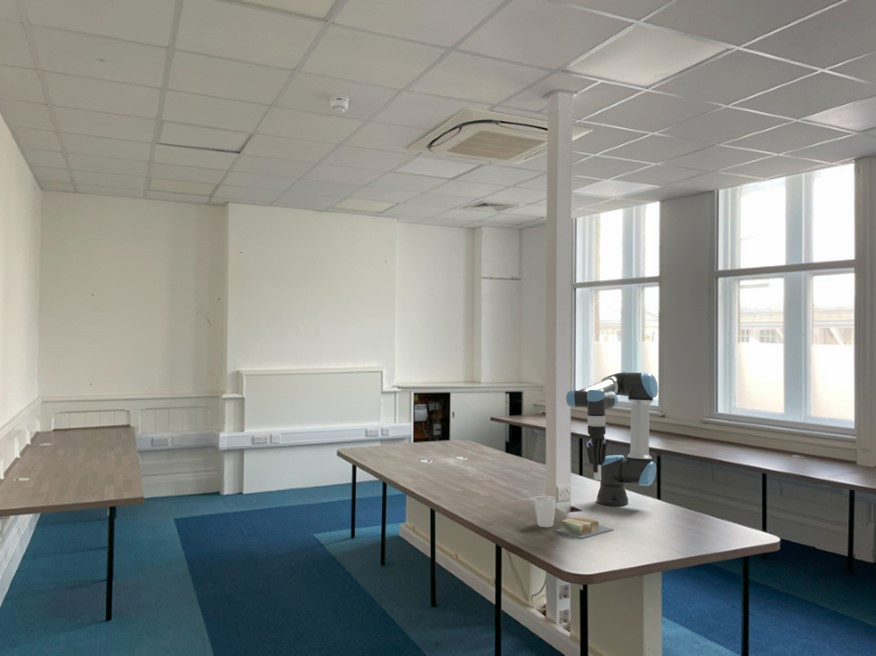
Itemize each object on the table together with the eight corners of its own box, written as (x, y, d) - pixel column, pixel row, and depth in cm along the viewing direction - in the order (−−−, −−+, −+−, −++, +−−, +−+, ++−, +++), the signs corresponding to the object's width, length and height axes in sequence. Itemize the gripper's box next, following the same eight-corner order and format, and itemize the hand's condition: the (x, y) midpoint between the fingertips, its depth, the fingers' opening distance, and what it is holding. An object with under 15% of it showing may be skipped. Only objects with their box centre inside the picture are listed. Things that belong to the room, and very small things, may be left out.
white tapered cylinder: (556, 523, 291) (556, 495, 291) (554, 528, 282) (554, 500, 283) (536, 521, 293) (536, 494, 294) (533, 527, 285) (533, 499, 285)
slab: (580, 516, 285) (560, 520, 278) (598, 521, 277) (579, 526, 270) (580, 525, 285) (561, 530, 278) (598, 530, 277) (579, 535, 270)
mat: (587, 523, 291) (587, 521, 291) (613, 530, 280) (613, 528, 280) (556, 531, 279) (555, 529, 279) (581, 538, 268) (581, 537, 268)
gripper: (599, 422, 292) (600, 476, 292) (579, 425, 284) (580, 480, 284) (613, 424, 286) (614, 478, 286) (593, 427, 278) (594, 483, 278)
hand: (597, 479), depth 285 cm, fingers closed
